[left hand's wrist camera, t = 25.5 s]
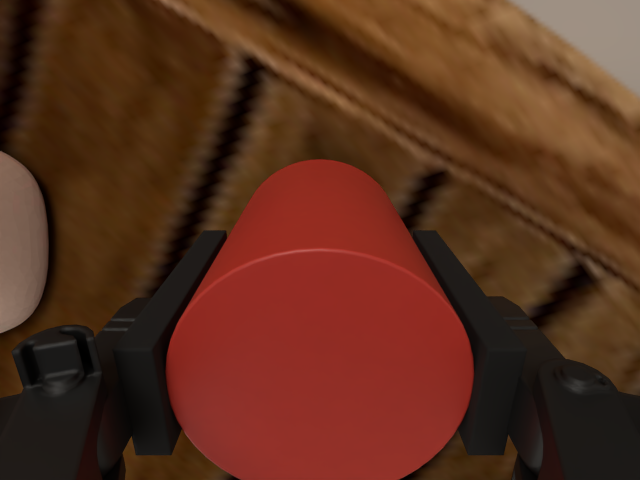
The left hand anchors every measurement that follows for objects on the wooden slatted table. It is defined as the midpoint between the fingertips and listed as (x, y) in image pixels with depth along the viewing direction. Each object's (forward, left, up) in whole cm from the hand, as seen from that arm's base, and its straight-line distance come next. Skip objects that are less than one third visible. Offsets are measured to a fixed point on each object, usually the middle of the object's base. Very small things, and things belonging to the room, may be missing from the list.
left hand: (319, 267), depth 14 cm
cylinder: (0, 0, -3) cm, 3 cm away
